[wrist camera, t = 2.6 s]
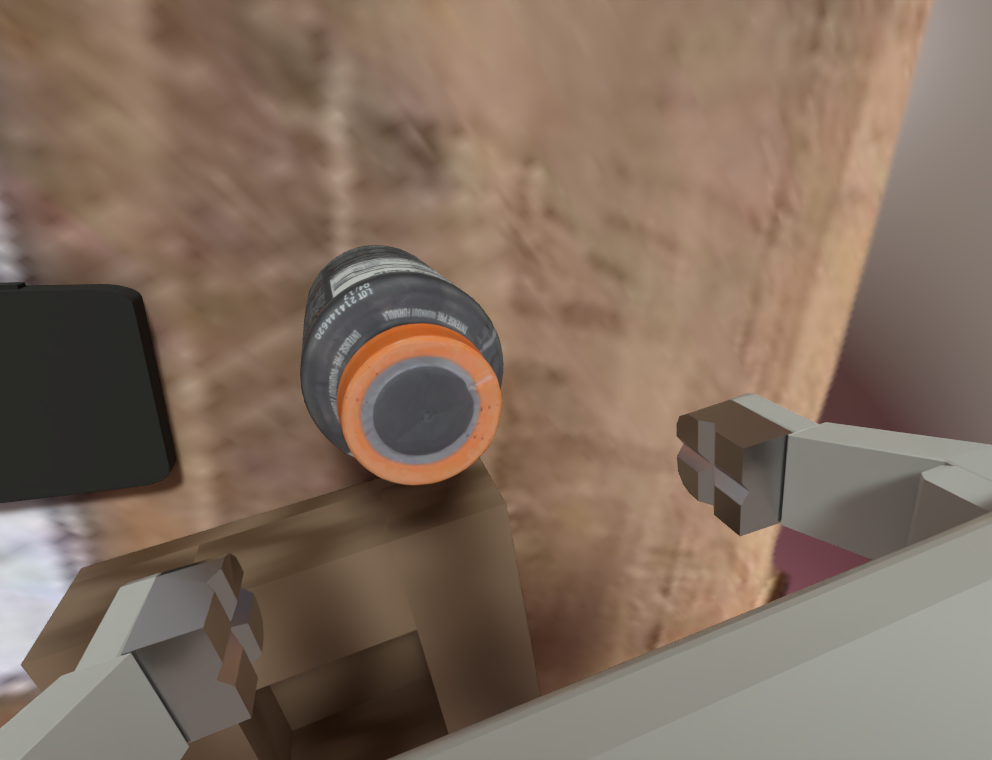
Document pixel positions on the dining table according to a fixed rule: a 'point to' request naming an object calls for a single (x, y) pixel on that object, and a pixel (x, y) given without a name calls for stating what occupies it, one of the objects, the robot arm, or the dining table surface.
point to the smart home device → (78, 392)
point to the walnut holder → (349, 618)
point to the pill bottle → (400, 366)
